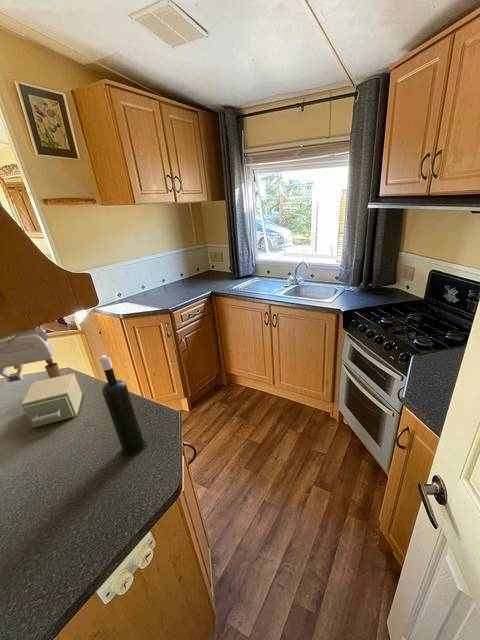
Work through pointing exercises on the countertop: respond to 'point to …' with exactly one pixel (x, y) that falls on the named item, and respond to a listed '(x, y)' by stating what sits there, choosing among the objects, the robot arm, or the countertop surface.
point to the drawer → (48, 411)
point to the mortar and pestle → (52, 369)
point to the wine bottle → (121, 410)
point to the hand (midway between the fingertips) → (16, 380)
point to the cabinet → (55, 391)
